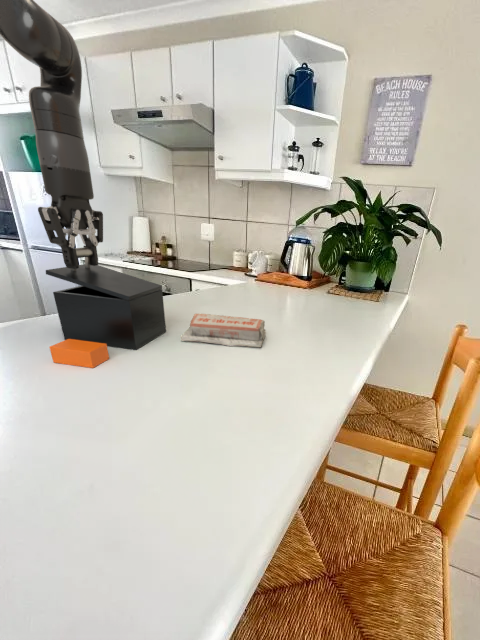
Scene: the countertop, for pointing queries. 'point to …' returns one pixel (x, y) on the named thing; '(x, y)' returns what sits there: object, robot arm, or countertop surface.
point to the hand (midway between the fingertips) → (82, 266)
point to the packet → (79, 353)
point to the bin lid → (104, 278)
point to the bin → (110, 317)
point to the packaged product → (225, 330)
